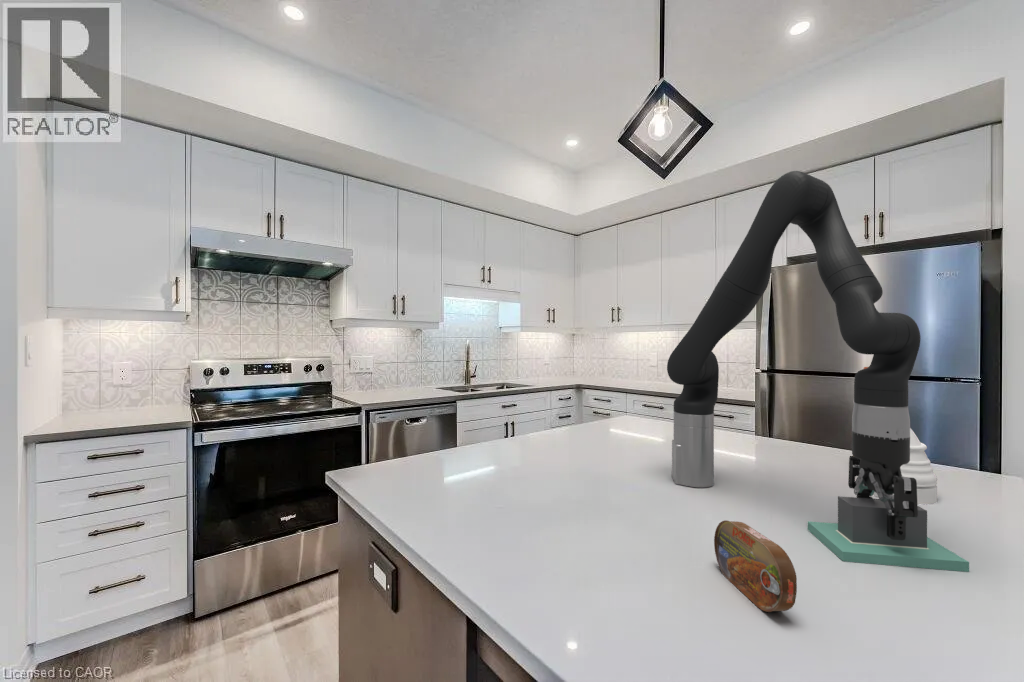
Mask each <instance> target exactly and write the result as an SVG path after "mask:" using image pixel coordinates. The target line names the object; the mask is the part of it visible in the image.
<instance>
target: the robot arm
mask: <svg viewBox="0 0 1024 682" xmlns="http://www.w3.org/2000/svg"><path fill="white" fill-rule="evenodd" d="M790 224H793V225H796V226H798V227H799V228H800V229H801V230H802V231H803V232H804V233H805V234H806V235H807V237H808V238H809V240H810V242H811V243H812V245H813V247H814V250H815V255H816V256H815V257H816V265H817V269H818V273H819V277H820V279H821V281H822V283H823V285H824V287H825V288H826V290H827V292H828V294H829V296H830V298H832V301H833V302H834V304H835V311H836V317H837V321H838V327H839V331H840V335H841V337H842V339H843V341H844V342H845V344H846V345H847V346H848V347H849V348H850V349H851V350H853V351H855V352H857V353H858V354H862V355H872V358H871V362H870V364H869V366H867V367H868V368H865V369H860V370H858V371H857V372H856V373H855V375H854V381H853V383H854V384H853V399H854V402H855V403H853V409H852V413H851V416H852V417H851V455H850V456H849V459H848V461H849V462H848V483H847V485H848V487H849V489H853V494H854V495H855V496H856V498H873V494H874V492H876V493H877V495H878V497H877V499H879V500H880V501H882V502H884V504H885V507H886V510H887V513H888V514H887V536H888V537H889V538H890V539H892V540H905V537H906V518H907V517H915V518H916V517H917V516H918V506H919V505H918V504H917V482H916V479H915V478H909V477H903V476H902V474H901V469H900V467H901V466H902V465H903V464H907V463H909V462H910V428H911V417H910V412H909V379H910V377H911V375H912V372H913V370H914V366H915V363H916V360H917V357H918V354H919V351H920V345H921V331H920V329H919V326H918V324H917V322H916V321H915V319H913V318H912V317H911V316H909V315H907V314H906V313H905V314H904V313H900V312H879V311H878V309H877V308H876V306H875V303H877V302H878V301H879V300H880V299H882V296H883V288H882V285H881V284H880V281H879V280H878V279H877V276H876V275H875V273H874V272H873V271H872V268H871V267H870V266H869V264H868V263H867V261H866V260H865V258H864V257H863V255H862V254H861V251H860V249H858V247H857V245H856V244H855V242H854V240H853V238H852V236H851V234H850V231H849V229H848V227H847V225H846V223H845V220H844V217H843V215H842V212H841V210H840V207H839V204H838V200H837V198H836V195H835V193H834V191H833V189H832V187H831V185H829V184H828V183H827V182H826V181H824V180H822V179H820V178H817V177H815V176H812V175H810V174H809V173H806V172H803V171H801V170H800V171H799V170H791V171H789V172H786V173H784V174H783V175H781V176H780V177H778V178H777V180H775V182H774V183H773V184H772V185H771V187H770V188H769V190H768V192H767V193H766V195H765V197H764V198H763V201H762V202H761V205H760V206H759V209H758V211H757V213H756V215H755V217H754V219H753V222H751V225H750V228H749V230H748V231H747V233H746V236H745V237H744V239H743V241H742V243H741V244H740V245H739V248H738V249H737V251H736V253H735V255H734V256H733V259H732V260H731V262H730V263H729V265H728V266H727V268H726V270H725V271H724V272H723V274H722V275H721V277H720V279H719V281H718V282H717V284H716V286H715V287H714V289H713V291H712V292H711V294H710V296H709V298H708V299H707V301H706V302H705V304H704V306H703V307H702V309H701V311H700V312H699V314H698V316H697V317H696V318H695V321H694V322H693V324H692V326H691V327H690V328H689V330H688V331H687V332H686V333H685V335H684V336H683V338H682V339H681V340H680V341H679V343H677V345H676V347H675V348H674V349H673V350H672V352H671V354H670V355H669V357H668V360H667V365H666V371H667V375H668V377H669V379H670V381H672V382H673V383H675V384H677V385H681V386H683V387H682V391H681V393H680V394H679V396H677V397H676V398H675V399H674V400H673V439H672V440H671V478H672V481H674V484H675V485H682V486H685V487H686V486H687V487H692V488H710V487H713V486H714V483H715V413H714V412H715V406H716V404H717V401H718V397H719V373H720V371H719V369H720V367H719V362H718V358H717V356H716V354H715V353H714V352H713V350H714V348H715V347H716V346H717V344H718V343H719V342H720V341H721V340H722V339H723V338H724V337H726V335H727V334H728V333H729V332H731V331H732V330H733V329H734V328H735V327H737V326H738V325H739V324H740V323H742V321H744V320H745V318H747V317H748V316H749V315H750V314H751V312H753V310H754V308H755V307H756V305H757V304H758V303H759V301H760V300H761V298H762V297H763V295H764V293H765V292H766V290H767V288H768V286H769V282H770V279H771V272H772V267H773V266H772V265H773V258H774V254H775V249H776V247H777V245H778V243H779V241H780V240H781V237H783V234H784V232H785V231H786V229H788V226H789V225H790ZM893 494H894V495H893ZM905 501H909V509H908V508H907V505H906V503H905ZM892 502H894V507H893V505H892Z"/></svg>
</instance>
